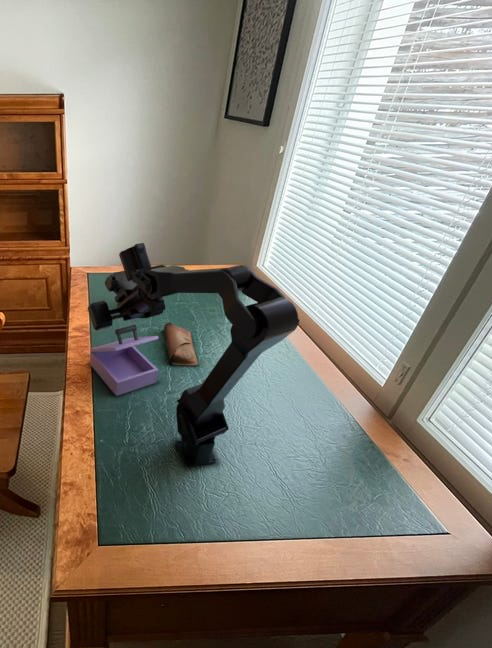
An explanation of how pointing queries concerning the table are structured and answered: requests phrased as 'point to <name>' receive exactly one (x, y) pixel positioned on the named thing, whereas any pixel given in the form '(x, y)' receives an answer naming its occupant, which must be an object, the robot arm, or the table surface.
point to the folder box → (124, 369)
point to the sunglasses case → (179, 346)
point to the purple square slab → (126, 342)
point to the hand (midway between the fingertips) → (113, 319)
